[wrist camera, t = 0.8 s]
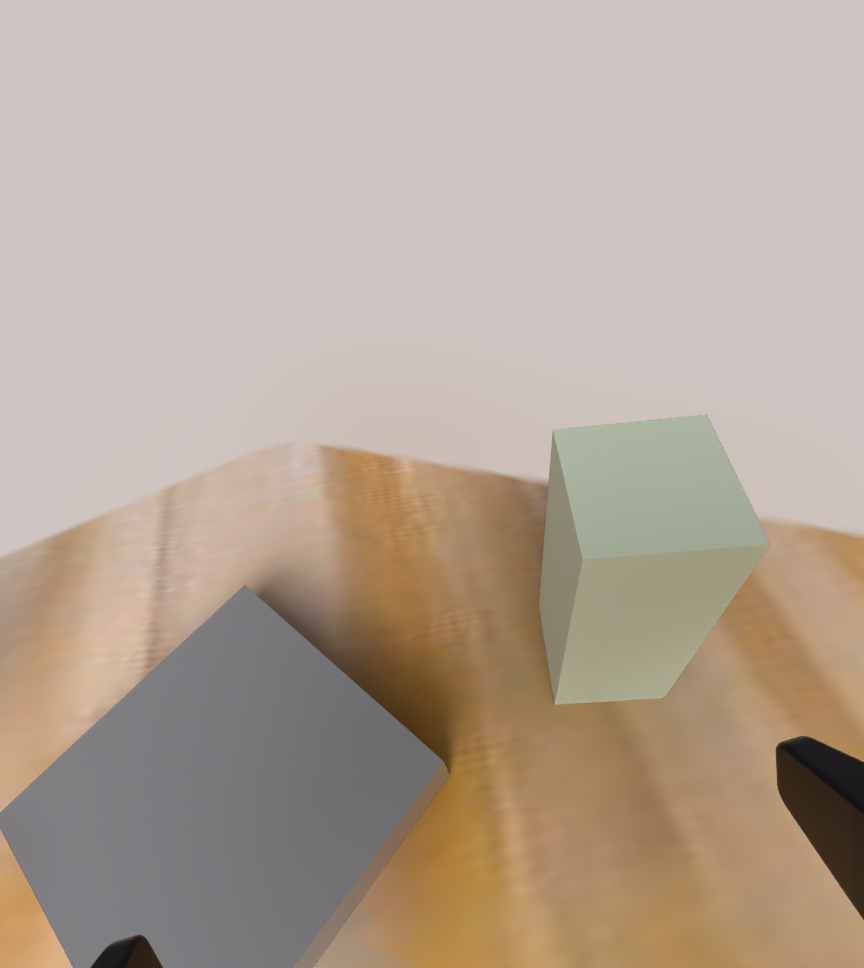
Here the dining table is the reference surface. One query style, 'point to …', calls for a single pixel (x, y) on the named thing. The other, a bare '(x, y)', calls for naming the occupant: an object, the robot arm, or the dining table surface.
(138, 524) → the dining table surface
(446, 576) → the dining table surface
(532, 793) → the dining table surface
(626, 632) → the sage block
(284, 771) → the slate slab
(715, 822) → the dining table surface
